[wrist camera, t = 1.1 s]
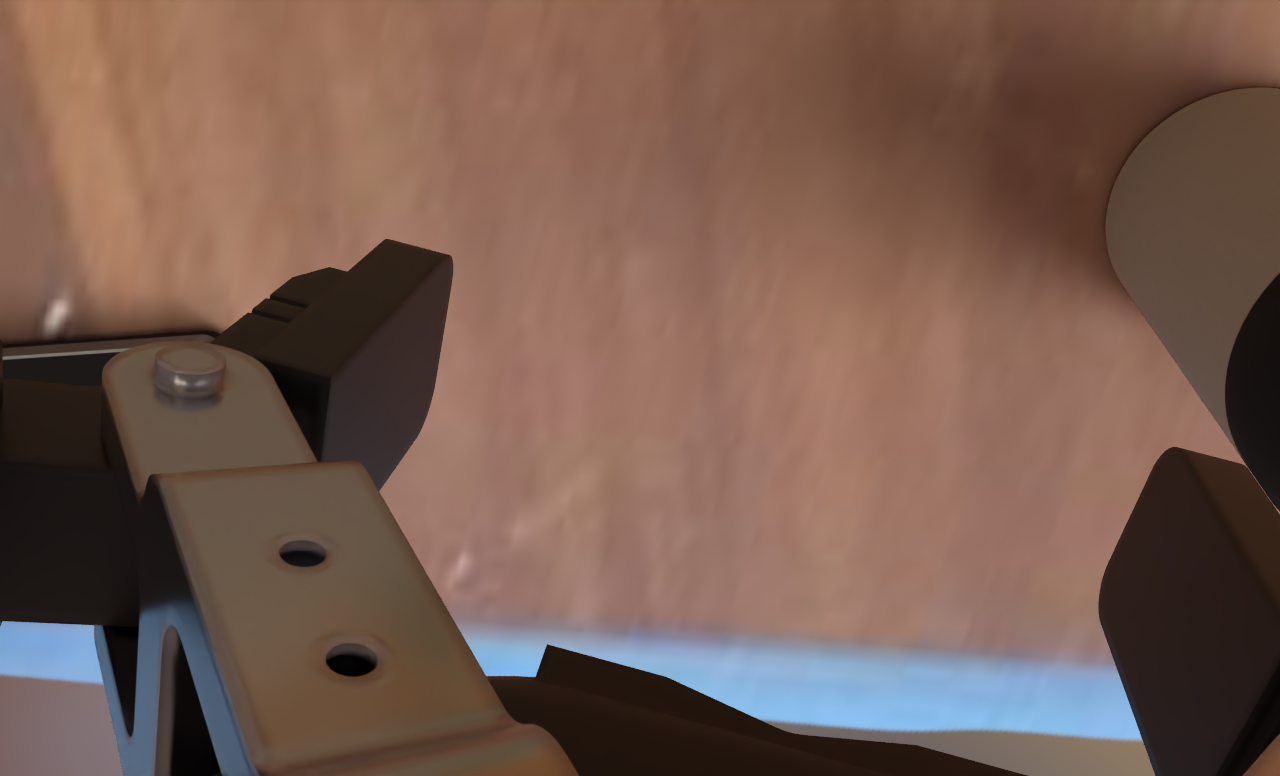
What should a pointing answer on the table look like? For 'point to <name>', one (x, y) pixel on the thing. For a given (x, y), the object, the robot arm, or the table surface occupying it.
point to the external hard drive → (79, 357)
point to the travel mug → (1211, 259)
